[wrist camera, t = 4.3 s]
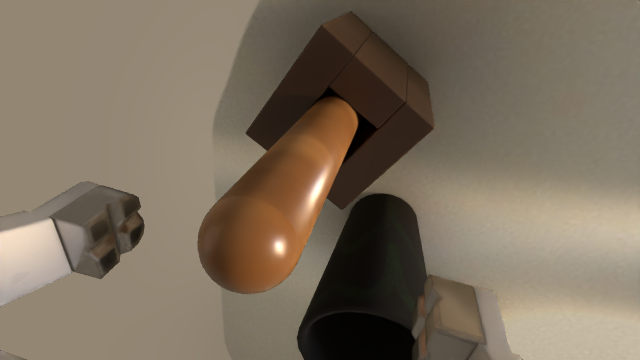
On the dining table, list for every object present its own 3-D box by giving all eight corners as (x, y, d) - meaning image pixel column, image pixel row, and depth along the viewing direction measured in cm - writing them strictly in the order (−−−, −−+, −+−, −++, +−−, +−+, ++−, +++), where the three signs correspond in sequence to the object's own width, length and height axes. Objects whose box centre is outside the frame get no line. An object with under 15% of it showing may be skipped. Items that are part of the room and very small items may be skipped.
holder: (291, 90, 24) (244, 133, 17) (351, 10, 20) (321, 24, 14) (360, 149, 25) (341, 211, 18) (428, 82, 21) (435, 128, 15)
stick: (332, 88, 23) (157, 269, 7) (354, 60, 22) (206, 204, 6) (357, 111, 23) (244, 333, 8) (381, 85, 22) (306, 284, 6)
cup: (321, 200, 28) (270, 322, 18) (406, 168, 25) (402, 294, 15) (363, 265, 31) (339, 403, 21) (445, 243, 27) (464, 395, 17)
